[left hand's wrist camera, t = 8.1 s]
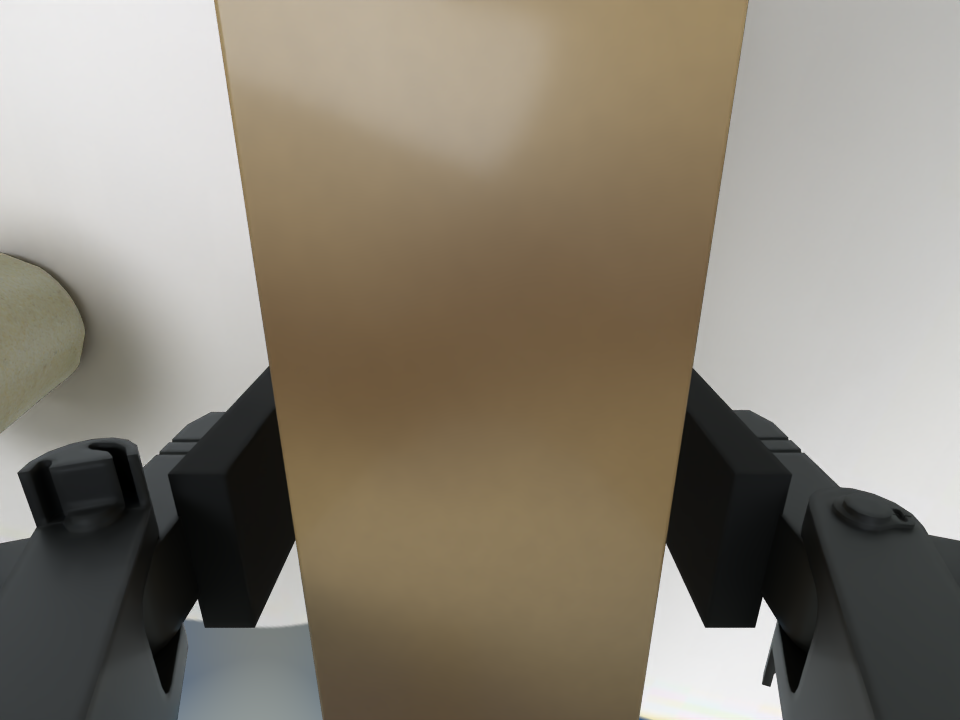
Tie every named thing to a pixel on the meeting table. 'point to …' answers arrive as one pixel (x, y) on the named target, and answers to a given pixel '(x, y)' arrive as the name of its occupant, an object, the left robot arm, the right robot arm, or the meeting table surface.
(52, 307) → the flower pot
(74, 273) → the meeting table surface
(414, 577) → the bar
